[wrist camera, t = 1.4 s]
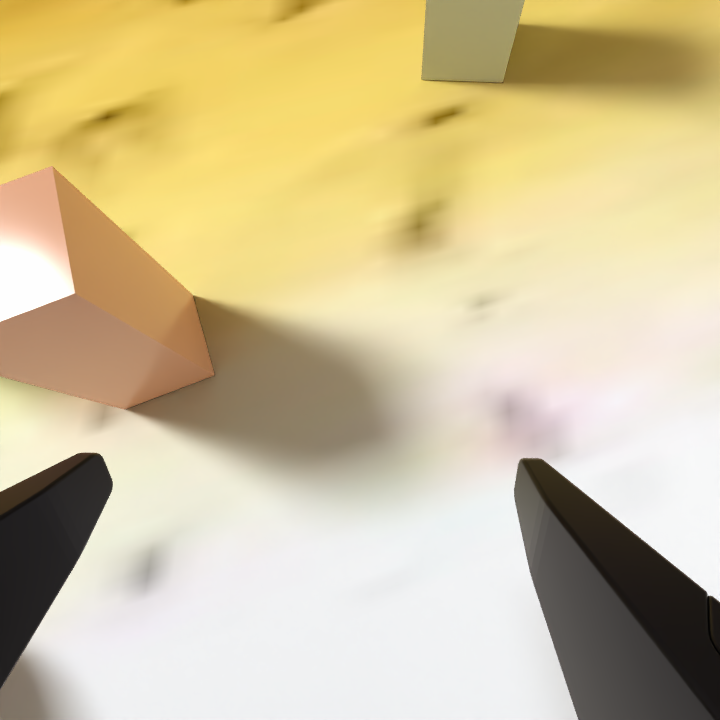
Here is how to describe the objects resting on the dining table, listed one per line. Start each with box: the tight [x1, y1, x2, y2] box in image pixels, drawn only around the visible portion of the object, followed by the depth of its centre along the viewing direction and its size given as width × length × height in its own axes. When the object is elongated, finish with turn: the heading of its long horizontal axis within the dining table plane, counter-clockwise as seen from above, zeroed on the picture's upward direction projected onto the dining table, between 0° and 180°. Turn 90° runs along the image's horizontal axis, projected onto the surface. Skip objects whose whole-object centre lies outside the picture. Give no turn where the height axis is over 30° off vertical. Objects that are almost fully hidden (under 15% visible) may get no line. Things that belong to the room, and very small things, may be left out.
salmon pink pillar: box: [0, 166, 215, 409], centre depth 20 cm, size 6×6×11 cm
